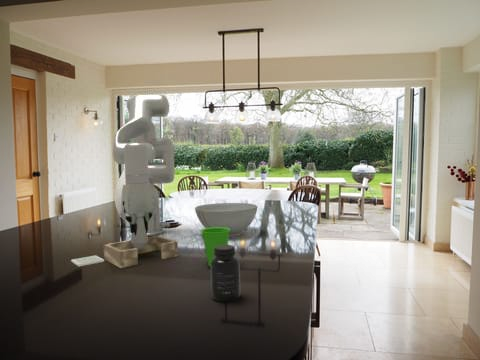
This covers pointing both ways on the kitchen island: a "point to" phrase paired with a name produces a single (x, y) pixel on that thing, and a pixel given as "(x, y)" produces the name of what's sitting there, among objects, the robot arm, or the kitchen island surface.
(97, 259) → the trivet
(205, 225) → the decorative bowl
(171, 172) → the robot arm
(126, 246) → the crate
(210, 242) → the cup
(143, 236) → the salt shaker
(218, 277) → the supplement bottle
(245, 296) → the kitchen island surface
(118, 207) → the lamp
